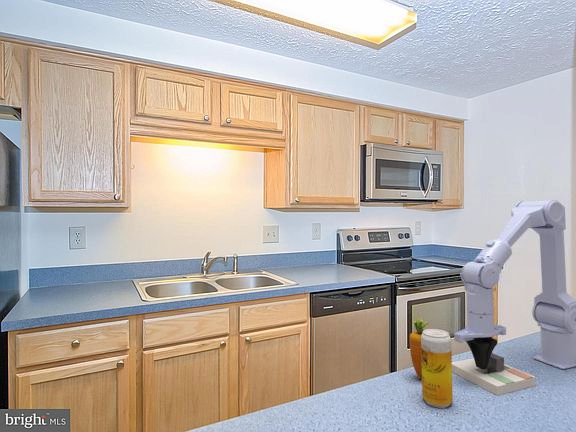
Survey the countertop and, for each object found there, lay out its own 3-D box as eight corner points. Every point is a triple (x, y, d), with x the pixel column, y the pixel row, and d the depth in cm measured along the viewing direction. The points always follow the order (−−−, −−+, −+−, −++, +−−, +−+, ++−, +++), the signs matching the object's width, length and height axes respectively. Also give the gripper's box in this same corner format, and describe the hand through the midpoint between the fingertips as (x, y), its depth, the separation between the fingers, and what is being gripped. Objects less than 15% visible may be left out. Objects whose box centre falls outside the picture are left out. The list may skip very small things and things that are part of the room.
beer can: (416, 398, 81) (414, 330, 81) (438, 392, 83) (436, 326, 83) (436, 411, 75) (434, 339, 75) (459, 405, 77) (457, 334, 77)
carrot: (412, 373, 93) (411, 314, 93) (433, 377, 91) (431, 317, 91) (408, 381, 89) (406, 319, 89) (429, 385, 87) (428, 322, 86)
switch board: (484, 363, 98) (484, 354, 98) (535, 385, 85) (535, 376, 85) (449, 370, 94) (449, 362, 94) (497, 395, 81) (497, 385, 81)
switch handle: (490, 371, 92) (489, 352, 92) (504, 377, 89) (503, 357, 89) (482, 372, 92) (482, 353, 92) (497, 379, 88) (496, 359, 88)
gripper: (488, 304, 95) (489, 356, 95) (444, 311, 90) (445, 366, 90) (513, 311, 88) (514, 367, 88) (467, 318, 83) (468, 378, 83)
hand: (481, 367), depth 89 cm, fingers closed
